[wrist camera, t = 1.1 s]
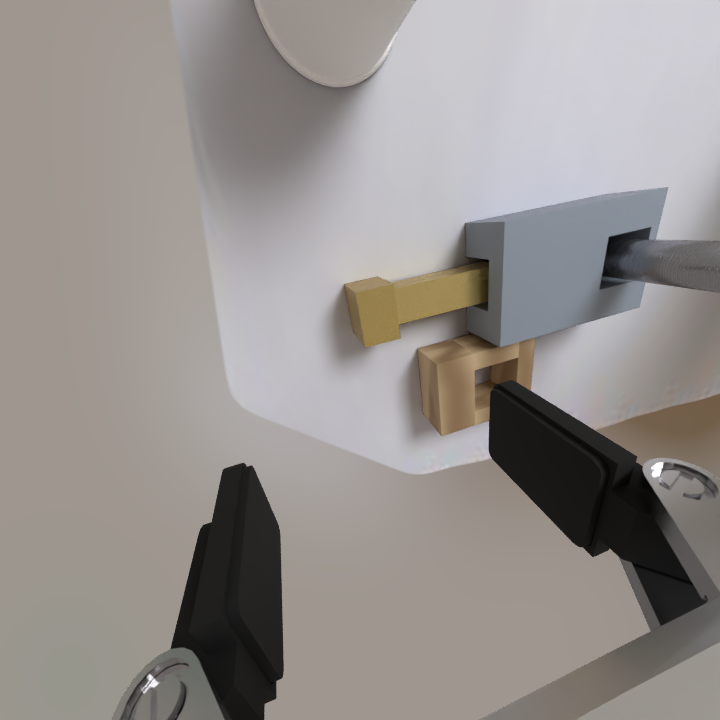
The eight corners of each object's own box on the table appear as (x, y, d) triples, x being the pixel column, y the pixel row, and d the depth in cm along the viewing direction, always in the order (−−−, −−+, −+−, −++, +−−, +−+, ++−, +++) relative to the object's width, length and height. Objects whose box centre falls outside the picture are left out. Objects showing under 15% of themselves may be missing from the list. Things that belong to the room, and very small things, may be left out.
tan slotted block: (505, 324, 31) (535, 336, 28) (502, 389, 35) (528, 407, 31) (417, 348, 30) (436, 364, 26) (423, 414, 33) (441, 436, 30)
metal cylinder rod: (588, 235, 30) (815, 238, 17) (583, 268, 31) (790, 292, 19) (561, 241, 29) (774, 249, 17) (557, 274, 31) (752, 304, 18)
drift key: (480, 253, 28) (511, 256, 24) (480, 300, 29) (508, 309, 26) (344, 284, 25) (355, 292, 22) (353, 332, 27) (365, 347, 24)
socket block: (606, 194, 29) (668, 187, 24) (589, 297, 33) (639, 307, 28) (465, 223, 26) (504, 221, 22) (467, 330, 30) (500, 347, 26)
